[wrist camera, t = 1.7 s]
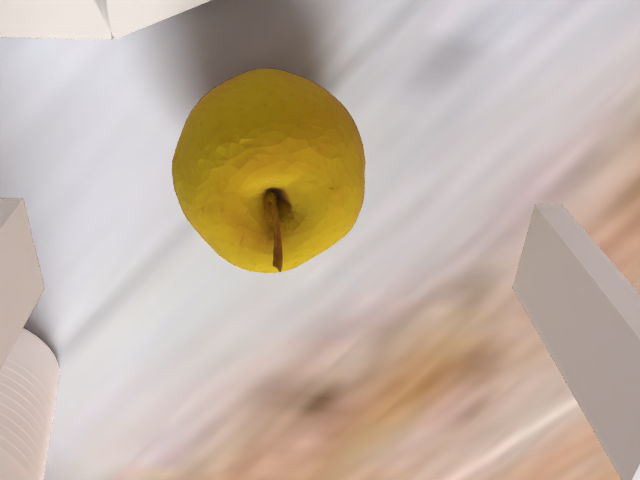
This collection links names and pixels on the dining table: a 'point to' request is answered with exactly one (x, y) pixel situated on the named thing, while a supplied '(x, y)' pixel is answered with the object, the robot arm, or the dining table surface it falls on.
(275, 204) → the apple
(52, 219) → the dining table surface
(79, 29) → the ring tray
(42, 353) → the cup
